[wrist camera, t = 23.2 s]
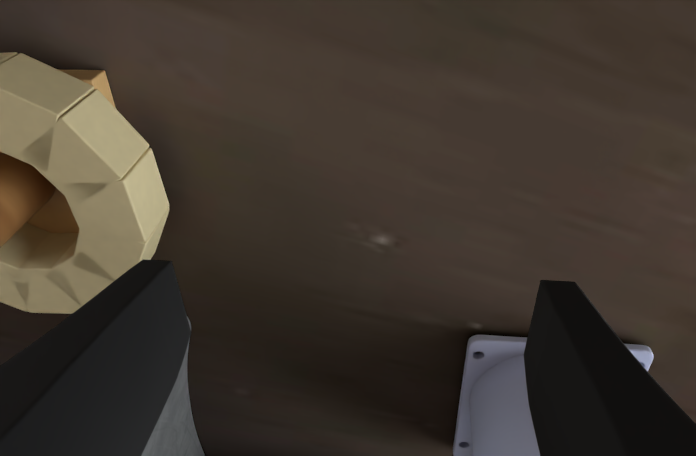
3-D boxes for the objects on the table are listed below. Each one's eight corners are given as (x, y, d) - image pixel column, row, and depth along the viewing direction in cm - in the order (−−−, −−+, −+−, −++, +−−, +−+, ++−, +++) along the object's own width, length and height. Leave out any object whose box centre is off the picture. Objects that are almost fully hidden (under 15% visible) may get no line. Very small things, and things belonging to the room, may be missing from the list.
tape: (193, 277, 24) (172, 316, 22) (-15, 274, 25) (-51, 311, 24) (120, 46, 18) (84, 72, 16) (-143, 58, 20) (-205, 83, 18)
